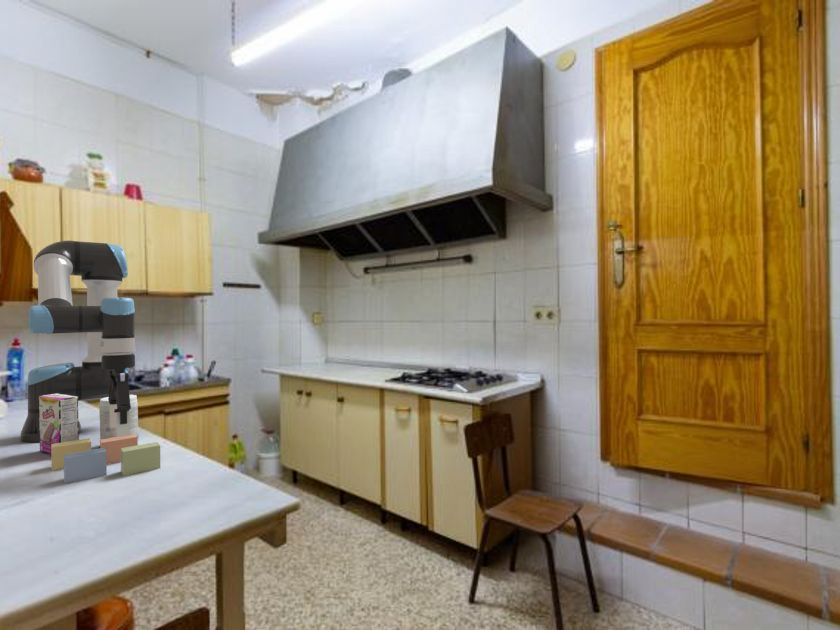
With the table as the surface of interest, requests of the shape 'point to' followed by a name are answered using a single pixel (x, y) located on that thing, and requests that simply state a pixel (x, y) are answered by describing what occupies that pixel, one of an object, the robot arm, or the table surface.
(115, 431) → the supplement tub
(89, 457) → the slate-blue brick
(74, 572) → the table surface
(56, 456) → the ochre brick
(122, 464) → the olive brick
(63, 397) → the candy bar box
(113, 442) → the terracotta brick
